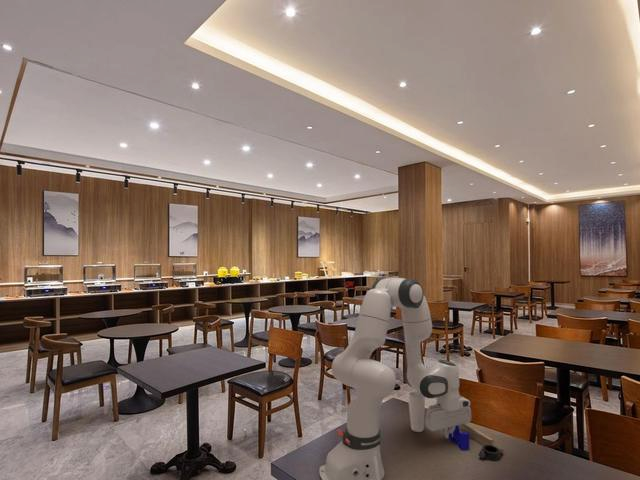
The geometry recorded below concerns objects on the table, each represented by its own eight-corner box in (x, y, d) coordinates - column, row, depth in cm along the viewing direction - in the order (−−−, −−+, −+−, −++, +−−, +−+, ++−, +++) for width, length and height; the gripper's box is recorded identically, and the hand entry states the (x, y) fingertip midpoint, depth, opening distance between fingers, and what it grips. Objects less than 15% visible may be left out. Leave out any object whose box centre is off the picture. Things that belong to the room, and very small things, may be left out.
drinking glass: (407, 430, 150) (406, 395, 151) (411, 424, 156) (411, 389, 157) (423, 435, 147) (422, 398, 147) (427, 428, 153) (426, 392, 153)
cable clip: (445, 434, 148) (446, 419, 148) (456, 434, 148) (456, 419, 148) (457, 450, 136) (457, 434, 136) (468, 450, 136) (469, 434, 136)
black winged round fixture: (509, 464, 127) (509, 456, 127) (479, 461, 128) (479, 453, 129) (502, 452, 134) (502, 444, 134) (474, 450, 136) (474, 442, 136)
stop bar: (481, 453, 133) (481, 442, 133) (439, 425, 155) (439, 415, 155) (493, 450, 135) (493, 439, 136) (450, 422, 157) (450, 413, 157)
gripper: (431, 409, 135) (432, 446, 135) (473, 400, 143) (474, 435, 142) (421, 403, 141) (422, 438, 141) (462, 395, 149) (462, 428, 148)
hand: (448, 437), depth 142 cm, fingers closed
